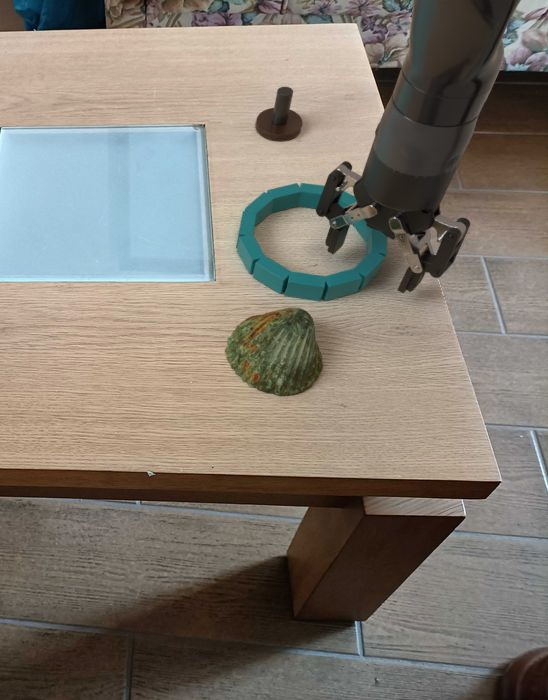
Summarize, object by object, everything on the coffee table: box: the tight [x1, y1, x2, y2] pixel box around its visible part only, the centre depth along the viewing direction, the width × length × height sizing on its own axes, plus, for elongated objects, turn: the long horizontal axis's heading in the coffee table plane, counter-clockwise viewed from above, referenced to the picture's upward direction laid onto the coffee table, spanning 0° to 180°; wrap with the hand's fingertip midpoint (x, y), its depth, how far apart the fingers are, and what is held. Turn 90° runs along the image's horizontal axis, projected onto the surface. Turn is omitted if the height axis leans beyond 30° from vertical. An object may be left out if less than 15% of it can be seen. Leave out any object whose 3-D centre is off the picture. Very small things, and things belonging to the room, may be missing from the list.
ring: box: [235, 182, 388, 302], centre depth 77 cm, size 16×16×2 cm
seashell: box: [224, 307, 324, 397], centre depth 68 cm, size 10×4×10 cm
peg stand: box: [255, 86, 303, 142], centre depth 88 cm, size 6×6×6 cm
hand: (368, 267), depth 73 cm, fingers open, 8 cm apart
